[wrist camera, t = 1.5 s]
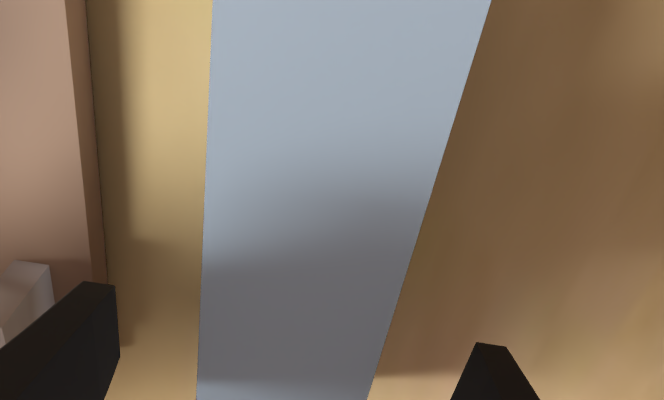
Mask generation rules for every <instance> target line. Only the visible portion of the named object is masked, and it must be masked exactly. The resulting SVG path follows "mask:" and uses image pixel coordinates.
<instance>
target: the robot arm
mask: <svg viewBox="0 0 664 400" xmlns="http://www.w3.org/2000/svg"><path fill="white" fill-rule="evenodd" d="M119 358H120V347H119V333H118V319H117V306H116V292H115V286H114V285H108V284H102V283H95V282H89V281H82V282H81V283H79V284H78V285H77V286H75V287H74V288H73V289H72V290H71V291H69V292H68V293H67V294H66V295H65V296H64V297H62V298H61V299H60V300H59V301H58V302H56V303H55V304H54V305H53V306H52V307H51V308H49V309H48V310H47V311H46V312H45V313H43V314H42V315H41V316H40V317H39V318H37V319H36V320H35V321H34V322H33V323H31V324H30V325H29V326H28V327H26V328H25V329H24V330H23V331H22V332H20V333H19V334H18V335H17V336H15V337H14V338H13V339H12V340H10V341H9V342H8V343H7V344H5V345H4V346H3V347H1V348H0V400H104V398H105V396H106V393H107V391H108V388H109V385H110V383H111V380H112V377H113V375H114V372H115V369H116V366H117V364H118V361H119ZM450 400H540V399H539V397H538V396H537V394H536V393H535V391H534V390H533V388H532V386H531V385H530V383H529V382H528V380H527V379H526V377H525V375H524V374H523V372H522V371H521V369H520V368H519V366H518V365H517V363H516V361H515V360H514V358H513V357H512V355H511V354H510V352H509V351H508V349H507V348H506V347H504V346H498V345H491V344H485V343H478V342H476V344H475V346H474V348H473V351H472V353H471V355H470V357H469V359H468V362H467V364H466V366H465V368H464V371H463V373H462V375H461V377H460V379H459V382H458V384H457V386H456V388H455V391H454V393H453V395H452V397H451V399H450Z"/></svg>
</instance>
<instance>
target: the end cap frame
mask: <svg viewBox="0 0 664 400" xmlns="http://www.w3.org/2000/svg"><path fill="white" fill-rule="evenodd" d="M82 281H89V282H95V283H102V284H108V278H107V266H106V253H105V241H104V228H103V216H102V204H101V191H100V179H99V167H98V154H97V142H96V129H95V117H94V105H93V92H92V80H91V67H90V55H89V43H88V30H87V18H86V5H85V0H0V348H1V347H3V346H4V345H5V344H7V343H8V342H9V341H10V340H12V339H13V338H14V337H15V336H17V335H18V334H19V333H20V332H22V331H23V330H24V329H25V328H26V327H28V326H29V325H30V324H31V323H33V322H34V321H35V320H36V319H37V318H39V317H40V316H41V315H42V314H43V313H45V312H46V311H47V310H48V309H49V308H51V307H52V306H53V305H54V304H55V303H56V302H58V301H59V300H60V299H61V298H62V297H64V296H65V295H66V294H67V293H68V292H69V291H71V290H72V289H73V288H74V287H75V286H77V285H78V284H79V283H81V282H82Z"/></svg>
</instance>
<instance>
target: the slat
mask: <svg viewBox="0 0 664 400" xmlns="http://www.w3.org/2000/svg"><path fill="white" fill-rule="evenodd" d="M490 3H491V0H213V8H212V33H211V57H210V81H209V105H208V129H207V153H206V177H205V201H204V225H203V249H202V273H201V297H200V321H199V345H198V369H197V393H196V400H367V398H368V394H369V391H370V388H371V385H372V381H373V378H374V375H375V372H376V369H377V365H378V362H379V359H380V356H381V353H382V349H383V346H384V343H385V340H386V337H387V333H388V330H389V327H390V324H391V321H392V317H393V314H394V311H395V308H396V305H397V301H398V298H399V295H400V292H401V289H402V285H403V282H404V279H405V276H406V273H407V269H408V266H409V263H410V260H411V257H412V253H413V250H414V247H415V244H416V241H417V237H418V234H419V231H420V228H421V225H422V221H423V218H424V215H425V212H426V208H427V205H428V202H429V199H430V196H431V192H432V189H433V186H434V183H435V180H436V176H437V173H438V170H439V167H440V164H441V160H442V157H443V154H444V151H445V148H446V144H447V141H448V138H449V135H450V132H451V128H452V125H453V122H454V119H455V116H456V112H457V109H458V106H459V103H460V100H461V96H462V93H463V90H464V87H465V84H466V80H467V77H468V74H469V71H470V68H471V64H472V61H473V58H474V55H475V52H476V48H477V45H478V42H479V39H480V36H481V32H482V29H483V26H484V23H485V19H486V16H487V13H488V10H489V7H490Z"/></svg>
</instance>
